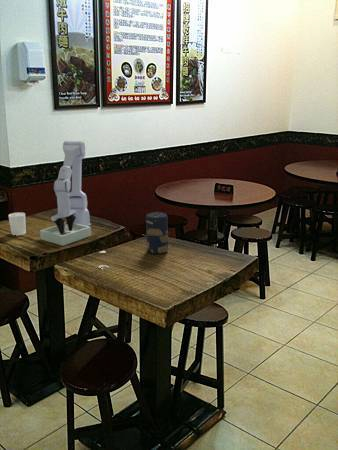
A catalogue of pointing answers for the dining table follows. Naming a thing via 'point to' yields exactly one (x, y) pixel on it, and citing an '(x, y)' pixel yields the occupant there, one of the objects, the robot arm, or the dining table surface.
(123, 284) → the dining table surface
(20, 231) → the white cup
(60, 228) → the robot arm
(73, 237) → the caddy
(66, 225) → the peg
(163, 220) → the canister
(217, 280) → the dining table surface
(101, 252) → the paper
